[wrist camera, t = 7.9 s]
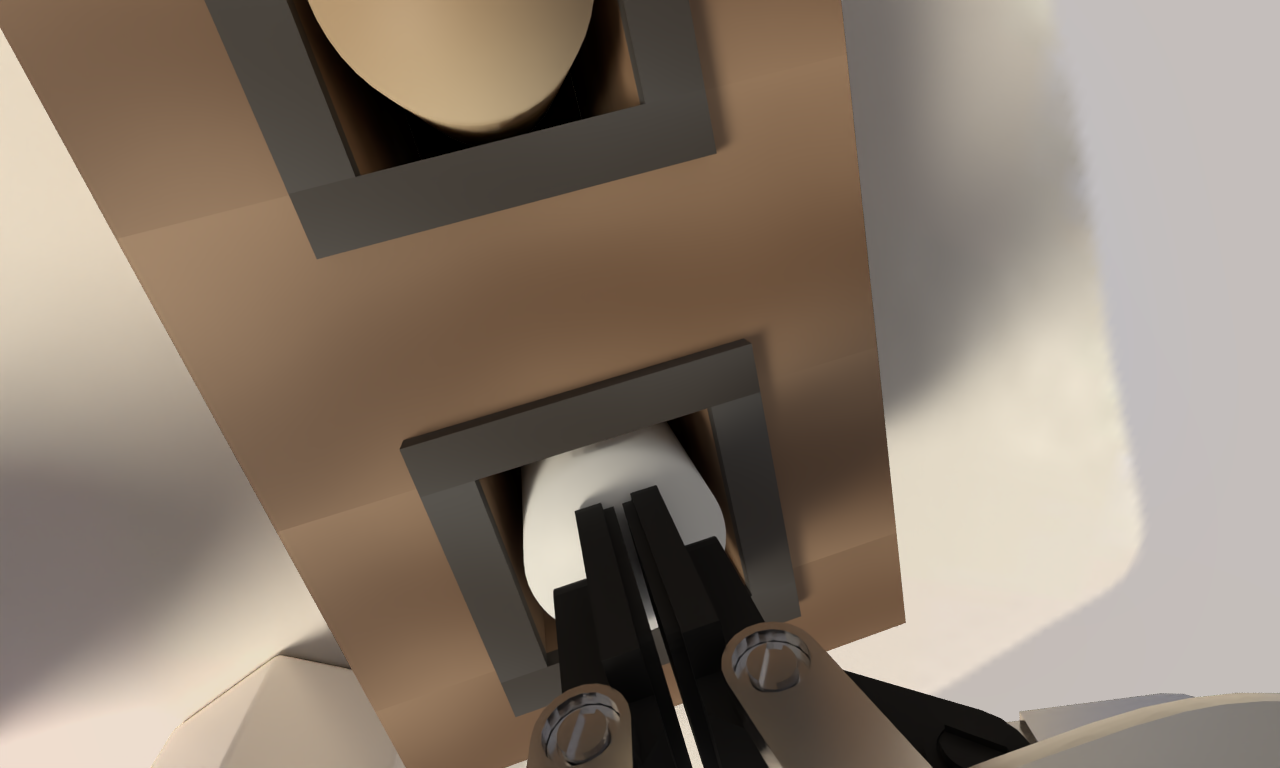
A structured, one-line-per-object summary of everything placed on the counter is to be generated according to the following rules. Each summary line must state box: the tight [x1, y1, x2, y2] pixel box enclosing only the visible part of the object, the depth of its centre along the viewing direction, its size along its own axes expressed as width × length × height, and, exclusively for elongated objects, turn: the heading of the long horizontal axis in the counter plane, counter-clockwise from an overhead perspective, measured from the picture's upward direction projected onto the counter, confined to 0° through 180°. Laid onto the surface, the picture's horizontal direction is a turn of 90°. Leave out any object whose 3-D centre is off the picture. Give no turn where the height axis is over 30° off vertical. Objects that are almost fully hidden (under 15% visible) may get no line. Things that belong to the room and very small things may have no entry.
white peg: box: [521, 421, 726, 630], centre depth 15 cm, size 4×4×8 cm
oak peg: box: [308, 0, 594, 146], centre depth 12 cm, size 4×4×8 cm
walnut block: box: [0, 0, 906, 768], centre depth 14 cm, size 20×12×8 cm, turn 14°
